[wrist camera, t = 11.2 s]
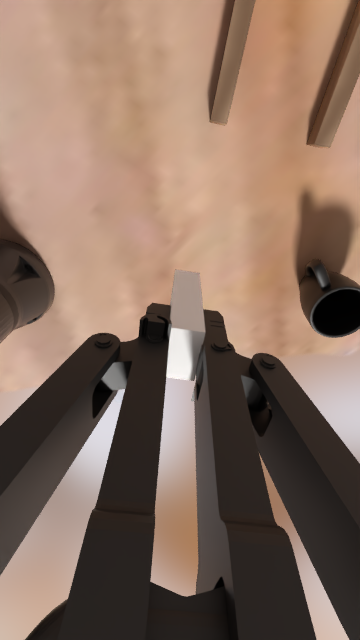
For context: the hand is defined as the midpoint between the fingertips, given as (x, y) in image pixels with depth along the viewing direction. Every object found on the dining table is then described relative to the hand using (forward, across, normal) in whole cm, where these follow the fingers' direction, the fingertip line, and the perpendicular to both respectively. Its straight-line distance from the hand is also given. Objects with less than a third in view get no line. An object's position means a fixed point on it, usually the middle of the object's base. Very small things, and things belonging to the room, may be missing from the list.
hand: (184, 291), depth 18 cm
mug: (+28, +22, -7) cm, 36 cm away
